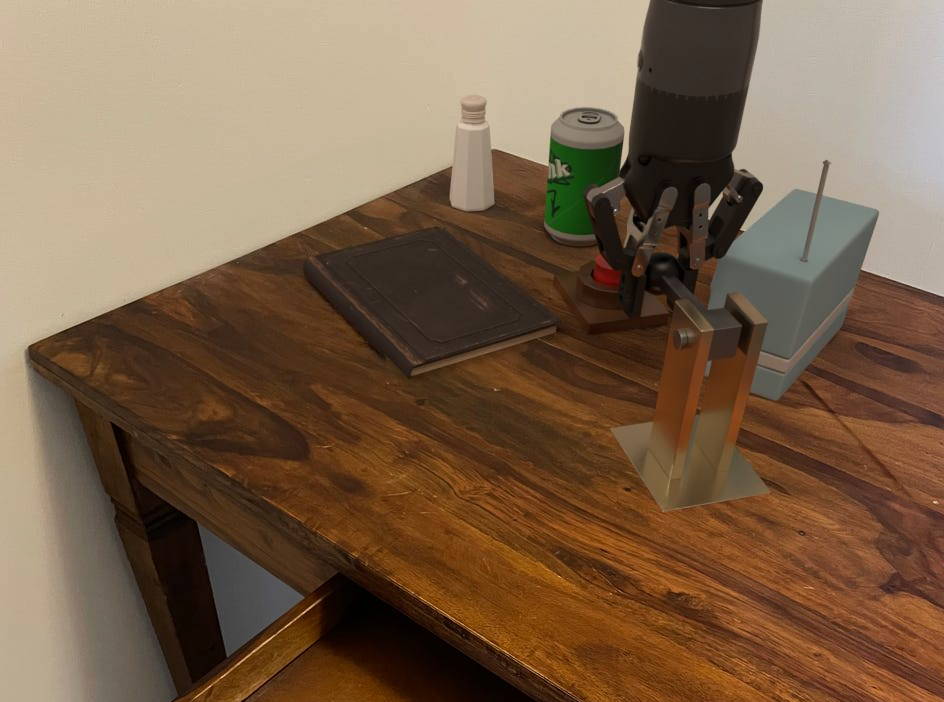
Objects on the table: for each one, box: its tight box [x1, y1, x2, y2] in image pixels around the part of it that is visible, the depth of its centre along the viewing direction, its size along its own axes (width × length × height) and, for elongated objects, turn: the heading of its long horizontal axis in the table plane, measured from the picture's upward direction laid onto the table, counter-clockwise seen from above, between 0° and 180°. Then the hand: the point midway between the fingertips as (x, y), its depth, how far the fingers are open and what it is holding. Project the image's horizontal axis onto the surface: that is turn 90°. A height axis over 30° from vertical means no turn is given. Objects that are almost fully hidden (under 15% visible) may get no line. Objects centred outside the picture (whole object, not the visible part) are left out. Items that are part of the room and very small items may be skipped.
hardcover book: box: [302, 224, 563, 380], centre depth 92 cm, size 16×23×2 cm
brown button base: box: [552, 259, 670, 336], centre depth 91 cm, size 10×8×4 cm
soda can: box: [543, 106, 625, 247], centre depth 100 cm, size 8×8×12 cm
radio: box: [704, 159, 880, 402], centre depth 80 cm, size 16×9×20 cm, turn 145°
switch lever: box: [645, 250, 742, 361], centre depth 70 cm, size 13×3×3 cm, turn 15°
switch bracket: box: [609, 292, 772, 513], centre depth 71 cm, size 11×9×14 cm
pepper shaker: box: [448, 94, 496, 213], centre depth 106 cm, size 5×5×11 cm
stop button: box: [593, 253, 621, 286], centre depth 89 cm, size 4×4×2 cm
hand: (653, 310), depth 76 cm, fingers closed on switch lever, 3 cm apart
